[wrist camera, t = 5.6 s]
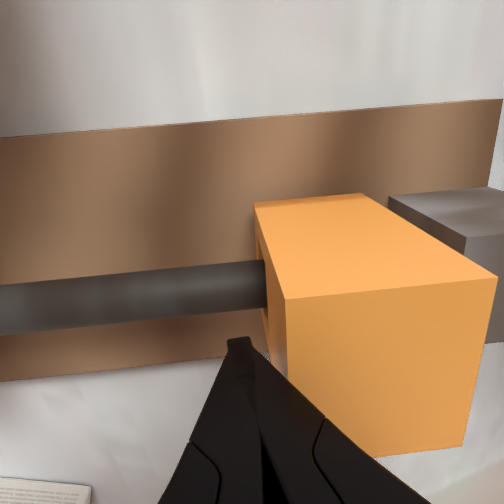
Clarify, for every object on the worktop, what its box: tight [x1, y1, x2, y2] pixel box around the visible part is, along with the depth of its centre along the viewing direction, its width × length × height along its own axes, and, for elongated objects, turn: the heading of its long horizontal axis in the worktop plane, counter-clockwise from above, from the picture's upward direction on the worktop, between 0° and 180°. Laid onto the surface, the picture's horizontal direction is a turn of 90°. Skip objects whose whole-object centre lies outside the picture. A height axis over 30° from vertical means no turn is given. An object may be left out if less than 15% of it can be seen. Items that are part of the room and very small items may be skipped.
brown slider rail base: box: [0, 99, 504, 382], centre depth 13 cm, size 24×10×6 cm, turn 94°
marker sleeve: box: [253, 193, 498, 458], centre depth 11 cm, size 4×4×7 cm
